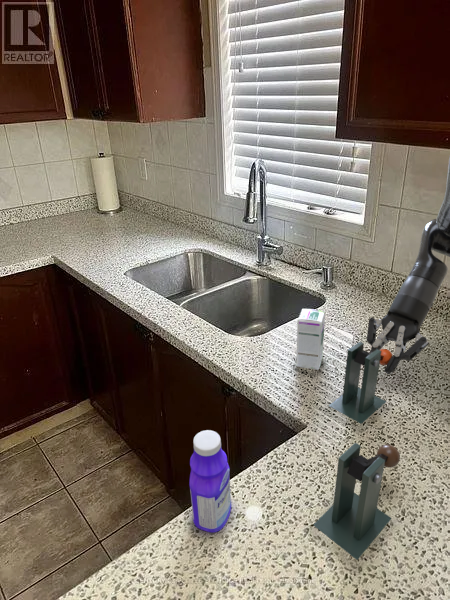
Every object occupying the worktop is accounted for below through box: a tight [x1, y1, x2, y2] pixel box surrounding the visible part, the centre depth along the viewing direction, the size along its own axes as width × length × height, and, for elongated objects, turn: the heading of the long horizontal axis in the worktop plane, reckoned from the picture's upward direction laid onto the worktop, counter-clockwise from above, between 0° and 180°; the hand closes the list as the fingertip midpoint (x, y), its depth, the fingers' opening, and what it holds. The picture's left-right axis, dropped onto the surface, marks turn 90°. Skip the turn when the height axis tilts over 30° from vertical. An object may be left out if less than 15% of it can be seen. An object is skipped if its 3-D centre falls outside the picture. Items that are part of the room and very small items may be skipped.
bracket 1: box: [328, 341, 387, 425], centre depth 93 cm, size 10×8×15 cm
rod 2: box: [347, 444, 401, 482], centre depth 69 cm, size 13×4×4 cm, turn 134°
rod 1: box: [354, 348, 393, 366], centre depth 95 cm, size 13×4×4 cm, turn 134°
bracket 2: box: [312, 442, 392, 561], centre depth 68 cm, size 10×8×15 cm
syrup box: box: [295, 308, 326, 371], centre depth 108 cm, size 6×6×14 cm
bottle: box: [188, 429, 232, 534], centre depth 70 cm, size 7×6×17 cm
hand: (378, 368), depth 98 cm, fingers closed on rod 1, 3 cm apart
